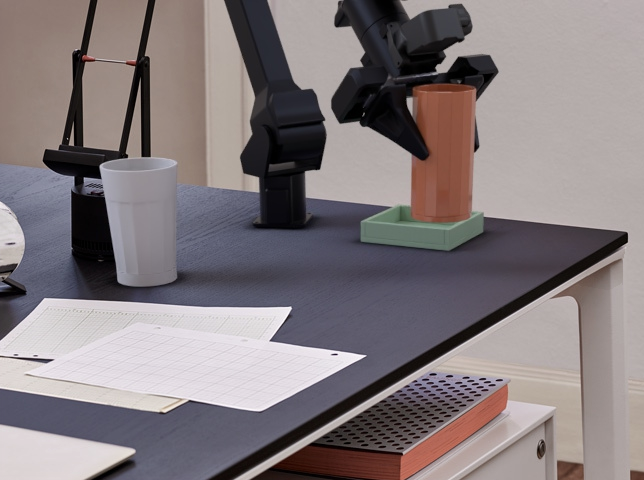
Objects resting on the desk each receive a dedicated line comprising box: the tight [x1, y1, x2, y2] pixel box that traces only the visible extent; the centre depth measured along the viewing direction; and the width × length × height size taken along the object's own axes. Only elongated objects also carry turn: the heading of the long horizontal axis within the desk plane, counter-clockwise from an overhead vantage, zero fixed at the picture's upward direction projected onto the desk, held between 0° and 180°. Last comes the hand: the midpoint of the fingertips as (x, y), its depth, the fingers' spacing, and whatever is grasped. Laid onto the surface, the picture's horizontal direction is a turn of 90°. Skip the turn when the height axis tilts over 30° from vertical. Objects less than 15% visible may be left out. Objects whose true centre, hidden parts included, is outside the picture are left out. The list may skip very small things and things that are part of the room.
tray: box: [360, 204, 485, 252], centre depth 159 cm, size 11×10×2 cm
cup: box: [99, 156, 178, 288], centre depth 142 cm, size 8×8×12 cm
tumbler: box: [410, 84, 477, 223], centre depth 140 cm, size 6×6×13 cm
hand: (451, 154), depth 139 cm, fingers closed on tumbler, 6 cm apart
